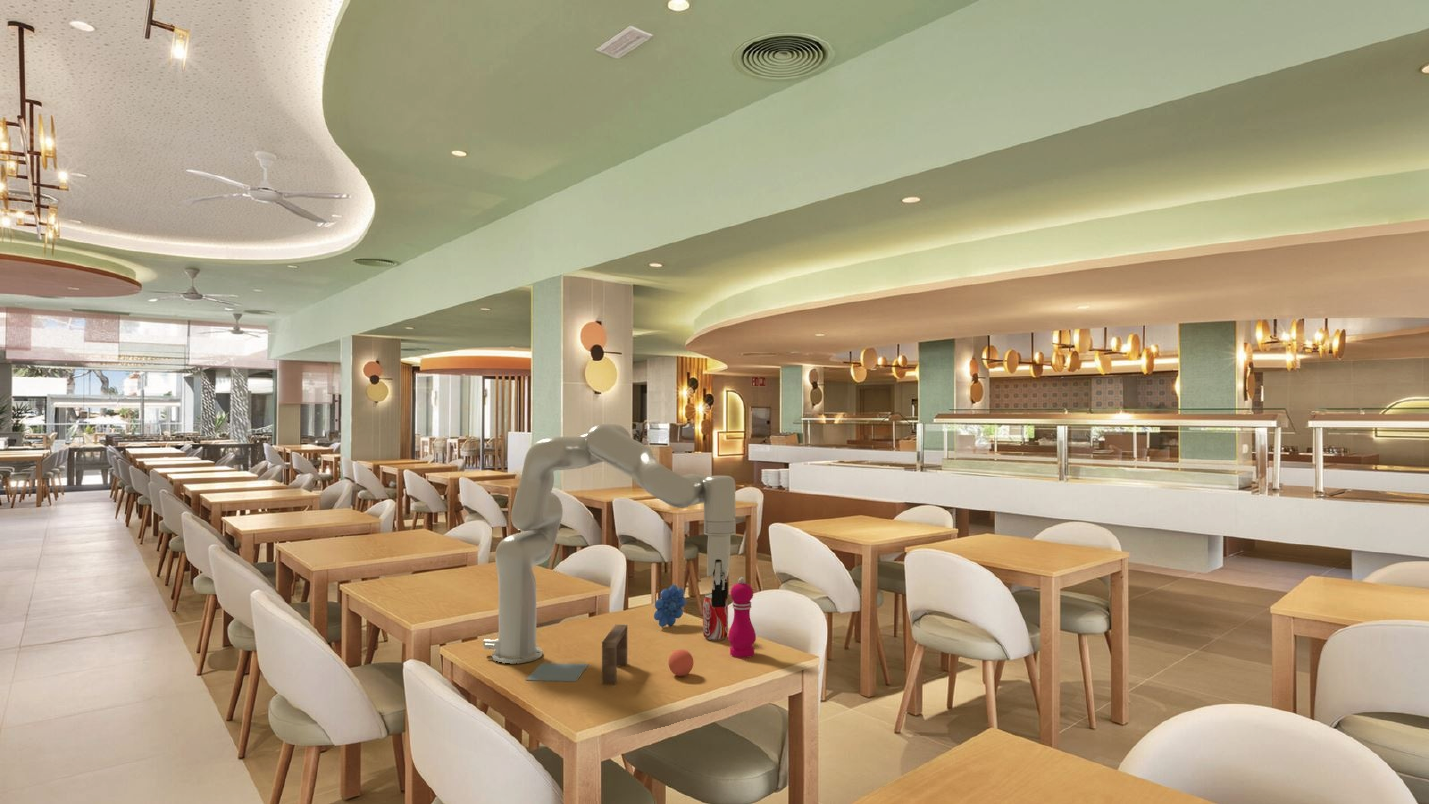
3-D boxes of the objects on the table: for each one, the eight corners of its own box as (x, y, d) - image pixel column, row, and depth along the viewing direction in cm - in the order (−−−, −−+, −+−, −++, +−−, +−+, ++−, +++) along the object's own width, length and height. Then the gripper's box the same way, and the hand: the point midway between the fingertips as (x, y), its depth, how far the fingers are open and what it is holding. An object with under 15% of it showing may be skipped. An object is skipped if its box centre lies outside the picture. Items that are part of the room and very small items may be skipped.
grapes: (676, 619, 227) (676, 580, 227) (690, 624, 222) (690, 584, 222) (645, 626, 219) (645, 586, 219) (659, 631, 214) (659, 589, 214)
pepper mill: (760, 652, 194) (760, 576, 195) (747, 660, 188) (747, 581, 188) (736, 648, 198) (736, 573, 198) (723, 655, 191) (723, 578, 192)
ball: (666, 679, 174) (666, 653, 174) (670, 670, 180) (670, 646, 180) (692, 680, 174) (692, 654, 174) (694, 671, 180) (694, 646, 180)
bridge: (601, 684, 171) (602, 642, 171) (615, 663, 186) (615, 624, 186) (614, 684, 170) (614, 642, 171) (627, 663, 185) (627, 624, 186)
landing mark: (525, 680, 174) (525, 679, 174) (541, 663, 185) (541, 663, 185) (576, 681, 173) (576, 680, 173) (588, 664, 185) (588, 664, 185)
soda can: (725, 642, 203) (725, 598, 203) (700, 641, 204) (700, 597, 205) (730, 635, 210) (730, 592, 210) (705, 633, 211) (705, 591, 212)
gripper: (707, 522, 185) (707, 594, 184) (700, 533, 168) (700, 611, 167) (737, 522, 184) (737, 594, 184) (733, 533, 167) (733, 612, 166)
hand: (719, 602), depth 175 cm, fingers open, 7 cm apart
